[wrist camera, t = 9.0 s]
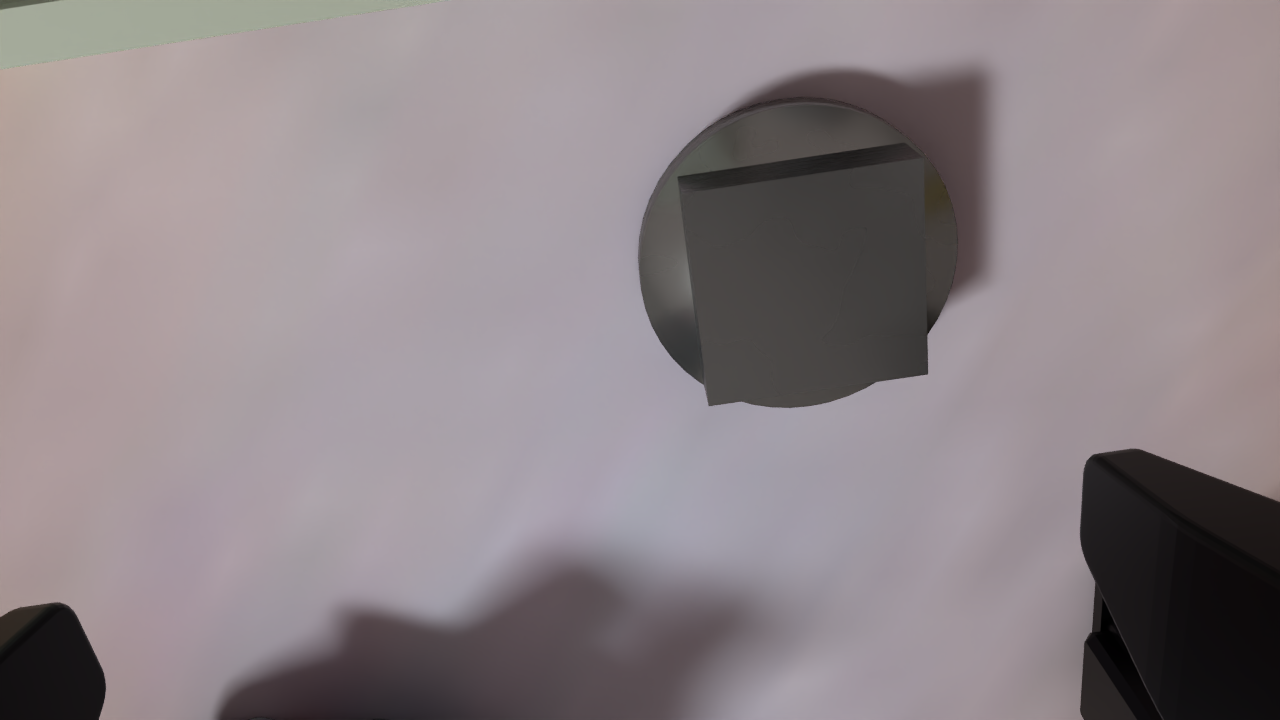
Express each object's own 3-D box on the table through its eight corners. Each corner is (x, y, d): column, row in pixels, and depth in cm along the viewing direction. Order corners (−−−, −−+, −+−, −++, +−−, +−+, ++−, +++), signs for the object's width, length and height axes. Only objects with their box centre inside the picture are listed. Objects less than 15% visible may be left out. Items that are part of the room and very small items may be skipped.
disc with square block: (942, 74, 20) (978, 93, 18) (946, 368, 22) (978, 411, 20) (616, 123, 20) (619, 147, 18) (659, 409, 22) (665, 455, 21)
